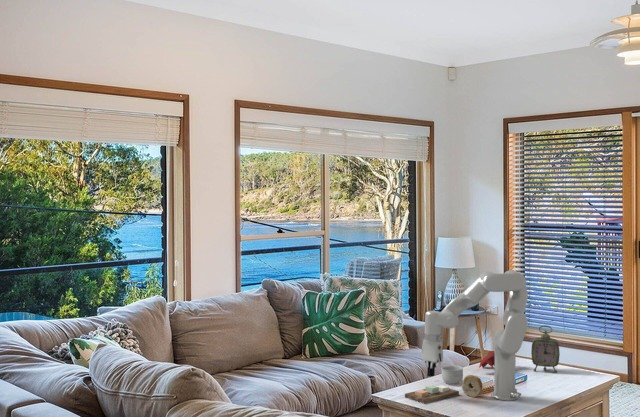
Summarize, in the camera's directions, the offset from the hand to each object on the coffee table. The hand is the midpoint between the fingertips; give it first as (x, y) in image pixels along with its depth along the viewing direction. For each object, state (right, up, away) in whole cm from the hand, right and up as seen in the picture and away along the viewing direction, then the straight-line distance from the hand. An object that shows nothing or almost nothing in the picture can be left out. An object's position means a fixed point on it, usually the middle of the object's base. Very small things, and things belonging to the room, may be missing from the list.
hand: (430, 375), depth 331 cm
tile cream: (+6, -9, +4) cm, 12 cm away
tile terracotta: (-5, -9, -4) cm, 11 cm away
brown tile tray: (+1, -10, 0) cm, 10 cm away
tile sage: (+1, -8, 0) cm, 8 cm away
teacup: (+15, -10, +25) cm, 31 cm away
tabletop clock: (+70, -10, +51) cm, 87 cm away
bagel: (+20, -10, +1) cm, 22 cm away
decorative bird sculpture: (+42, -9, +53) cm, 68 cm away
